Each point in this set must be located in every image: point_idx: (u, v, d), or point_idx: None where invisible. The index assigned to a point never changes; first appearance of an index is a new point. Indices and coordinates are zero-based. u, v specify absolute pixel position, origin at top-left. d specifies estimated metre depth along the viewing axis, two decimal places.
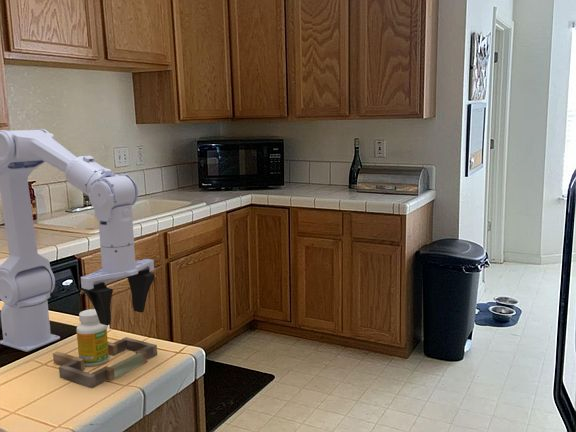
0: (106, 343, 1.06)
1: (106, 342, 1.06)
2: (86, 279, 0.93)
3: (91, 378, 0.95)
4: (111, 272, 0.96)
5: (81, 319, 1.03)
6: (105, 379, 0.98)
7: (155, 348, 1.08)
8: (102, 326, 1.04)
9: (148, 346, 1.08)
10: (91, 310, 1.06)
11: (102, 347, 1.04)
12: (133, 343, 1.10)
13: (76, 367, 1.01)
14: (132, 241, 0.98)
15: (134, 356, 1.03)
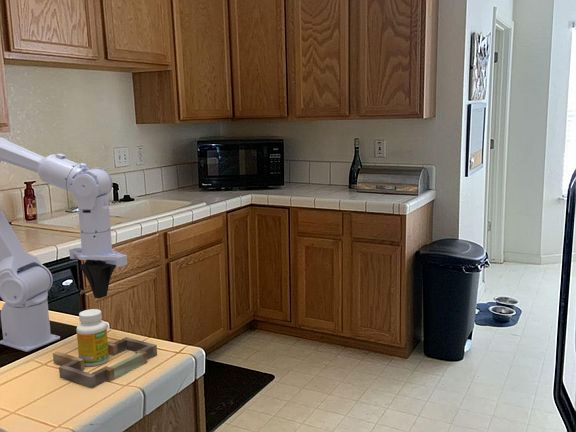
0: (106, 343, 1.06)
1: (106, 342, 1.06)
2: None
3: (91, 378, 0.95)
4: None
5: (81, 319, 1.03)
6: (105, 379, 0.98)
7: (155, 348, 1.08)
8: (102, 326, 1.04)
9: (148, 346, 1.08)
10: (91, 310, 1.06)
11: (102, 347, 1.04)
12: (133, 343, 1.10)
13: (76, 367, 1.01)
14: (110, 227, 1.10)
15: (134, 356, 1.03)
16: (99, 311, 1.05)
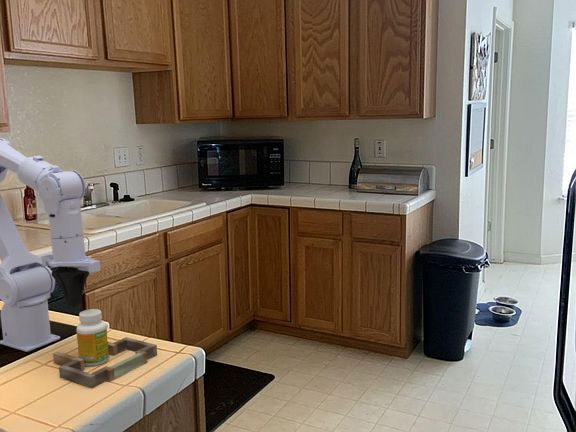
0: (106, 343, 1.06)
1: (106, 342, 1.06)
2: (43, 256, 1.09)
3: (91, 378, 0.95)
4: None
5: (81, 319, 1.03)
6: (105, 379, 0.98)
7: (155, 348, 1.08)
8: (102, 326, 1.04)
9: (148, 346, 1.08)
10: (91, 310, 1.06)
11: (102, 347, 1.04)
12: (133, 343, 1.10)
13: (76, 367, 1.01)
14: (81, 232, 1.04)
15: (134, 356, 1.03)
16: (99, 311, 1.05)
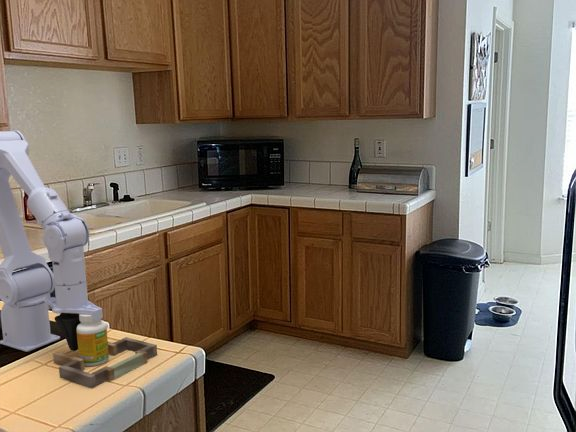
0: (106, 343, 1.06)
1: (106, 342, 1.06)
2: (46, 299, 1.10)
3: (91, 378, 0.95)
4: None
5: (81, 319, 1.03)
6: (105, 379, 0.98)
7: (155, 348, 1.08)
8: (102, 326, 1.04)
9: (148, 346, 1.08)
10: None
11: (102, 347, 1.04)
12: (133, 343, 1.10)
13: (76, 367, 1.01)
14: (84, 279, 1.06)
15: (134, 356, 1.03)
16: None
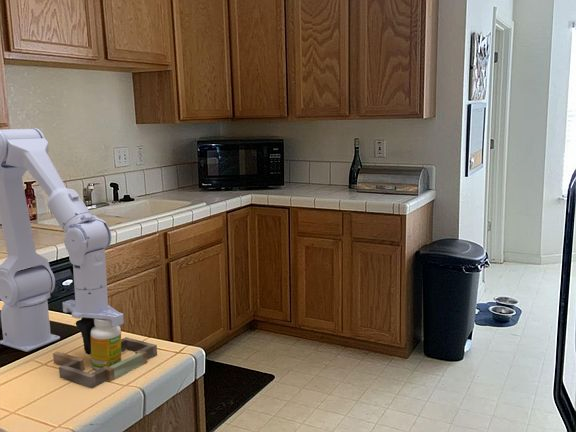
0: (119, 348, 1.04)
1: (120, 347, 1.04)
2: (64, 302, 1.07)
3: (91, 378, 0.95)
4: None
5: (96, 323, 1.01)
6: (105, 379, 0.98)
7: (155, 348, 1.08)
8: (116, 331, 1.02)
9: (148, 346, 1.08)
10: None
11: (116, 353, 1.03)
12: (133, 343, 1.10)
13: (76, 367, 1.01)
14: (105, 283, 1.03)
15: (134, 356, 1.03)
16: None
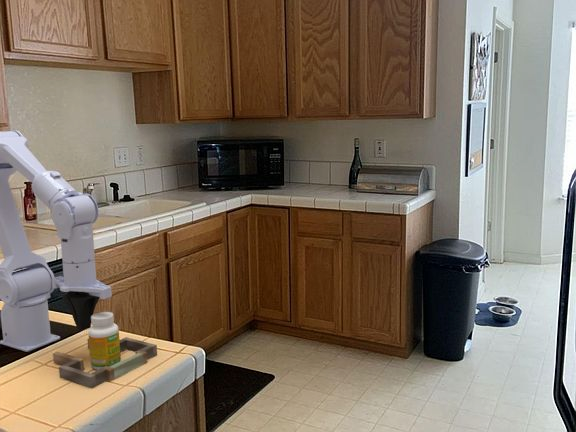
0: (118, 346, 1.04)
1: (118, 345, 1.04)
2: None
3: (91, 378, 0.95)
4: None
5: (93, 322, 1.02)
6: (105, 379, 0.98)
7: (155, 348, 1.08)
8: (114, 329, 1.02)
9: (148, 346, 1.08)
10: (103, 313, 1.04)
11: (114, 351, 1.03)
12: (133, 343, 1.10)
13: (76, 367, 1.01)
14: (92, 257, 1.04)
15: (134, 356, 1.03)
16: (111, 314, 1.03)
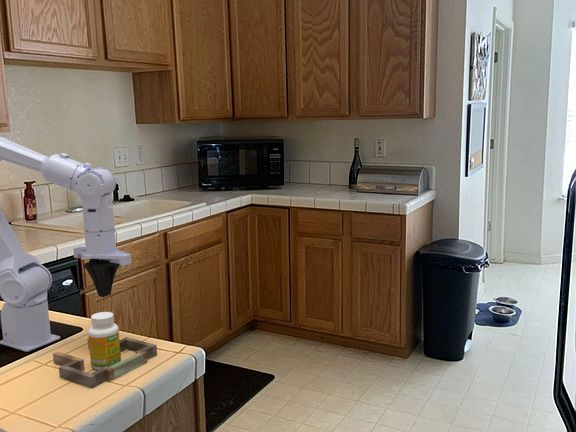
0: (118, 346, 1.04)
1: (118, 345, 1.04)
2: (75, 248, 1.14)
3: (91, 378, 0.95)
4: None
5: (93, 322, 1.02)
6: (105, 379, 0.98)
7: (155, 348, 1.08)
8: (114, 329, 1.02)
9: (148, 346, 1.08)
10: (103, 313, 1.04)
11: (114, 351, 1.03)
12: (133, 343, 1.10)
13: (76, 367, 1.01)
14: None
15: (134, 356, 1.03)
16: (111, 314, 1.03)
